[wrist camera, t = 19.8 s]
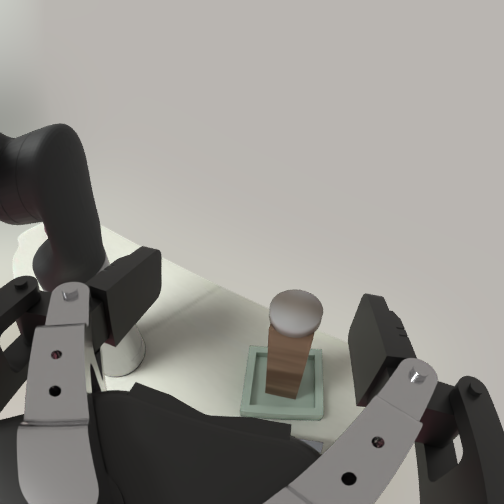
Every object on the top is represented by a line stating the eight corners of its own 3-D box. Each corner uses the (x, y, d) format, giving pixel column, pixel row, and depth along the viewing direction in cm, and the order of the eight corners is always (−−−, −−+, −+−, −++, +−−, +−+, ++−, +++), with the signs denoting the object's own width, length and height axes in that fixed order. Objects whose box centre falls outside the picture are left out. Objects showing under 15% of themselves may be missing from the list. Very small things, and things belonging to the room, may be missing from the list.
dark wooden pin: (297, 402, 31) (319, 334, 22) (261, 394, 33) (263, 322, 23) (305, 372, 35) (325, 294, 26) (270, 365, 36) (276, 285, 27)
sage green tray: (240, 416, 31) (240, 411, 30) (249, 353, 39) (249, 345, 38) (320, 420, 30) (323, 415, 29) (319, 356, 38) (321, 349, 37)
